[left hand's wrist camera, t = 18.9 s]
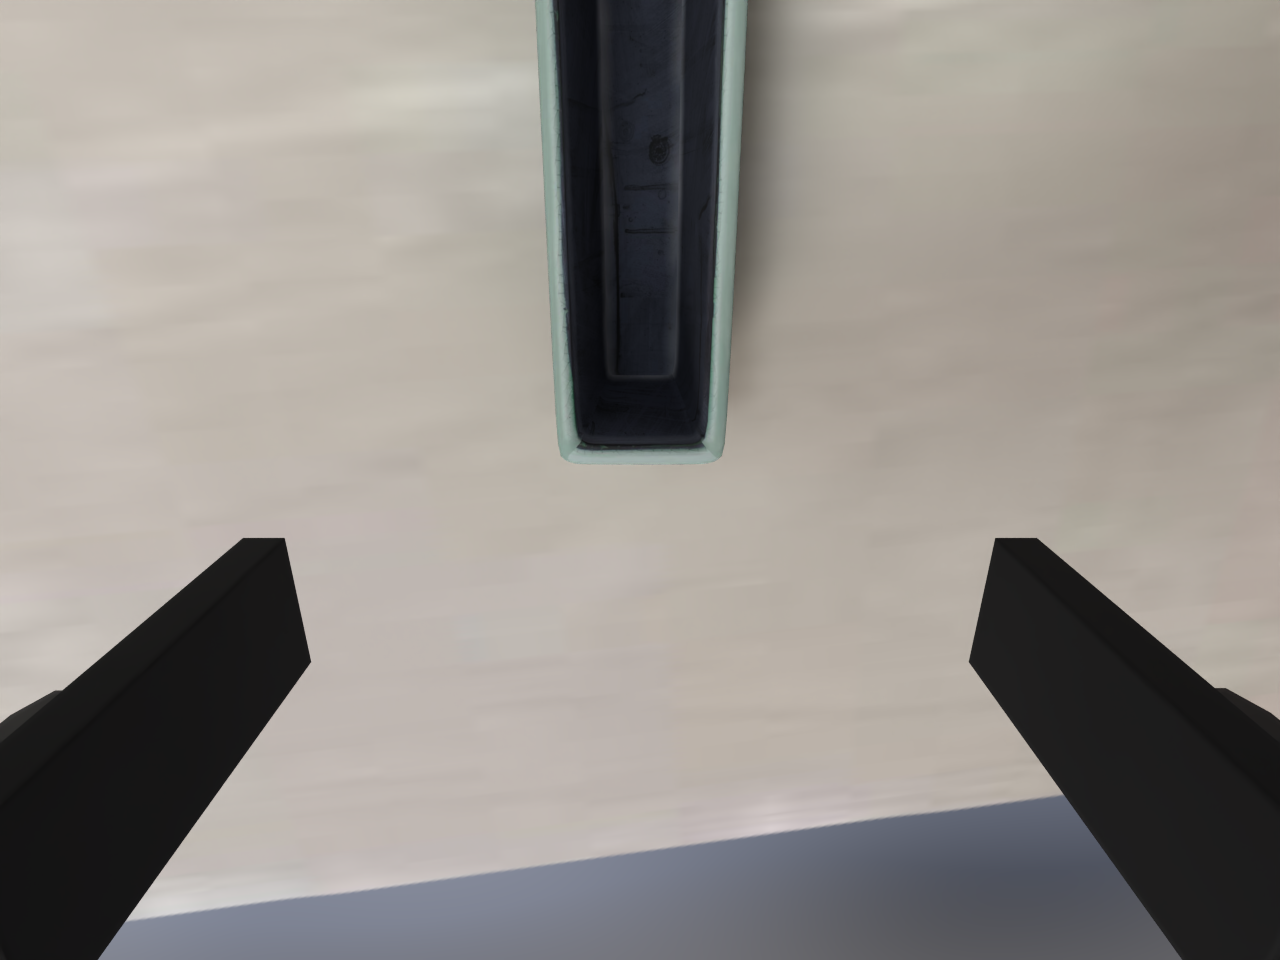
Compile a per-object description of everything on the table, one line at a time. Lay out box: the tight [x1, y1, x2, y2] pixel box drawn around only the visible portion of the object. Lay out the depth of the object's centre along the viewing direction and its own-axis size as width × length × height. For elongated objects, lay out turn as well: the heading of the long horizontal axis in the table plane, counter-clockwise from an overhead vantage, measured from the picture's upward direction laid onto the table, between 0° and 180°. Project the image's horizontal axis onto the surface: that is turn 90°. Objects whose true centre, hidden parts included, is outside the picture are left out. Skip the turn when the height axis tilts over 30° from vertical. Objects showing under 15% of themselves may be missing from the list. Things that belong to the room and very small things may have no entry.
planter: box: [535, 0, 748, 464], centre depth 27 cm, size 28×7×7 cm, turn 0°
